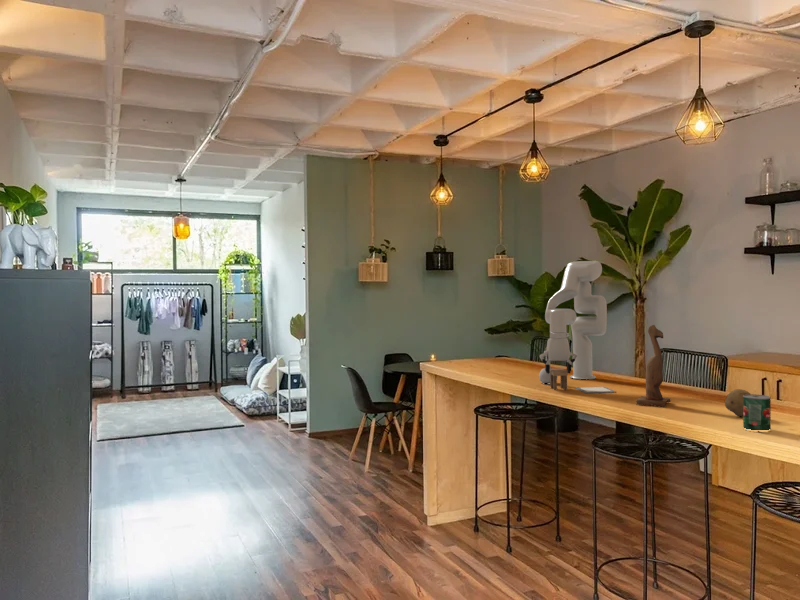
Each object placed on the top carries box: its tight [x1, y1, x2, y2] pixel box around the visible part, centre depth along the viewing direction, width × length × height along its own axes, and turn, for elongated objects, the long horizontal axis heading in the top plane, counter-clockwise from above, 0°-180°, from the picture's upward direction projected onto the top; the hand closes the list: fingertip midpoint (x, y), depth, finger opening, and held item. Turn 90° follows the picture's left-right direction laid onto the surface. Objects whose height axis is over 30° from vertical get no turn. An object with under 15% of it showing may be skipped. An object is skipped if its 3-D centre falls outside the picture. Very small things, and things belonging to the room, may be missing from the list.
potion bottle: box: [538, 347, 553, 385], centre depth 310 cm, size 9×9×18 cm
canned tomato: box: [742, 393, 772, 430], centre depth 208 cm, size 8×8×11 cm
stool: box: [549, 368, 569, 391], centre depth 294 cm, size 6×6×9 cm
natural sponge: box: [724, 388, 751, 417], centre depth 228 cm, size 9×9×10 cm
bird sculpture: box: [635, 324, 672, 408], centre depth 254 cm, size 11×12×32 cm
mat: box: [574, 386, 617, 394], centre depth 288 cm, size 14×14×1 cm
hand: (558, 373), depth 293 cm, fingers open, 9 cm apart
